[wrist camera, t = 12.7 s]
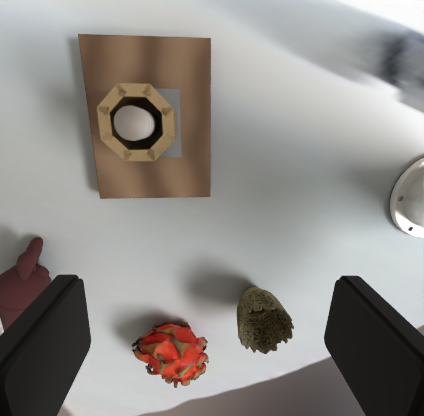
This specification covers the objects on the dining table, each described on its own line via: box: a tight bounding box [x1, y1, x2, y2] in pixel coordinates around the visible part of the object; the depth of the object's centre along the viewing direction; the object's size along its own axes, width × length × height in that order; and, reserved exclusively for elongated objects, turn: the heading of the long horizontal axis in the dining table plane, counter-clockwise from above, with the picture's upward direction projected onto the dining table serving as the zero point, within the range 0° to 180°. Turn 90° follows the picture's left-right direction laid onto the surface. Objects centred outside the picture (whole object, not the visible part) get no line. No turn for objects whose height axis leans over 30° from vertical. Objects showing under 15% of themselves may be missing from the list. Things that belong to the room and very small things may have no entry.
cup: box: [237, 287, 294, 354], centre depth 38 cm, size 8×7×8 cm
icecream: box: [0, 238, 51, 331], centre depth 34 cm, size 7×7×15 cm
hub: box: [97, 83, 177, 161], centre depth 25 cm, size 6×6×6 cm
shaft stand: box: [78, 34, 211, 199], centre depth 26 cm, size 14×18×13 cm
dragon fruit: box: [131, 322, 209, 388], centre depth 39 cm, size 8×8×12 cm
